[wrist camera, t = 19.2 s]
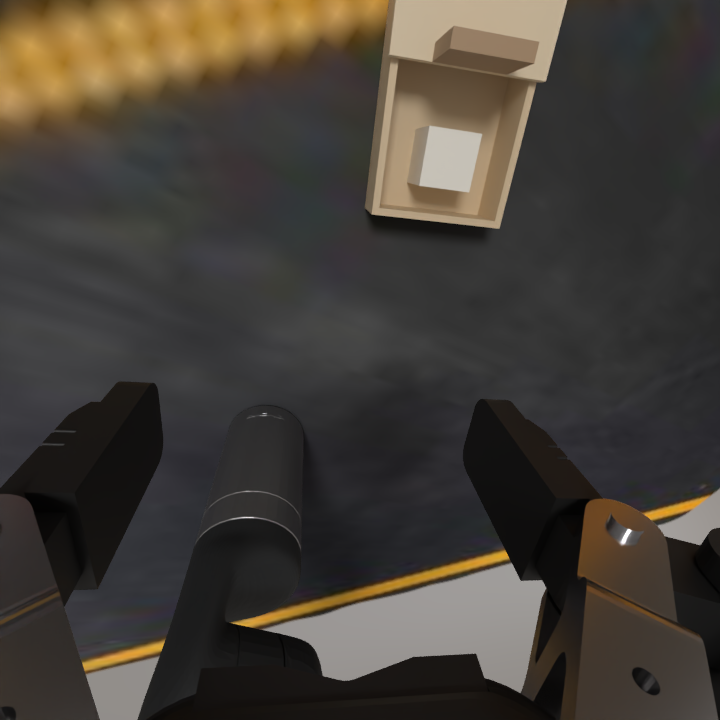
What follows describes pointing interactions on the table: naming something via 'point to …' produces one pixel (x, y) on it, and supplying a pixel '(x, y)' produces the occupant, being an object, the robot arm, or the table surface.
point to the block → (443, 158)
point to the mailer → (453, 111)
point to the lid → (479, 35)
